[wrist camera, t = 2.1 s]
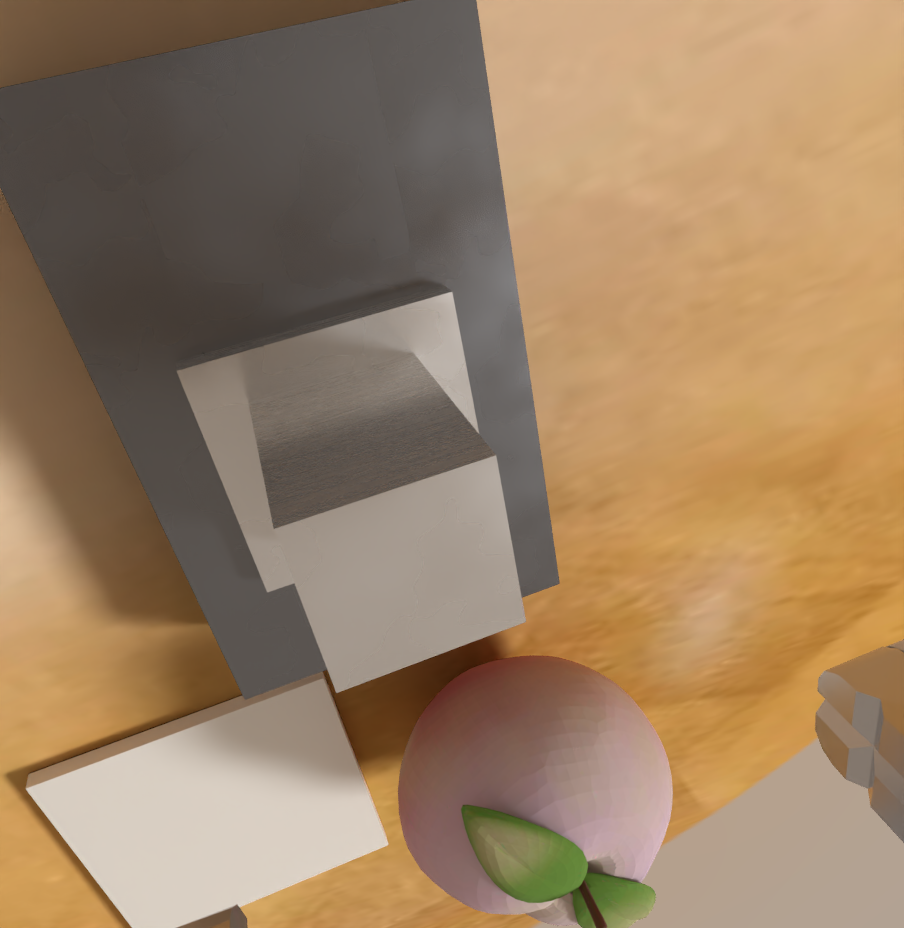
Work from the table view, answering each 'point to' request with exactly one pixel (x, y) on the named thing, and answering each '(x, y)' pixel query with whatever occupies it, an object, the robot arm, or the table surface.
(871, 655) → the robot arm
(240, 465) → the peg
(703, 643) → the table surface
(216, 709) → the pad
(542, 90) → the table surface
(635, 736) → the decorative fruit
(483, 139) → the post block
